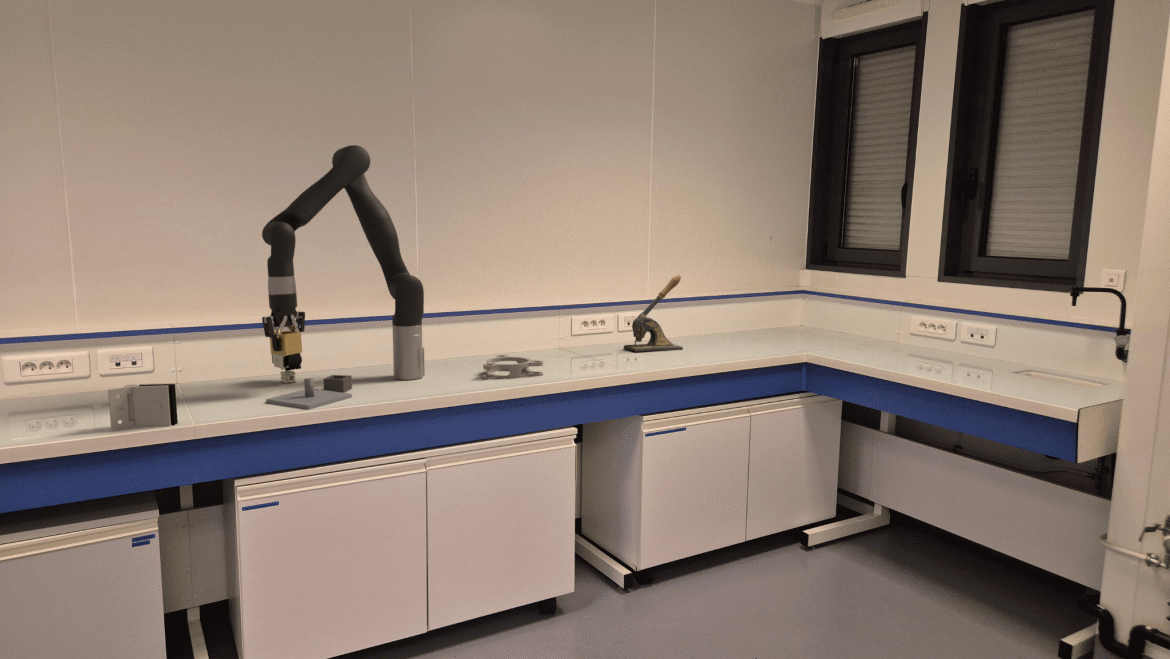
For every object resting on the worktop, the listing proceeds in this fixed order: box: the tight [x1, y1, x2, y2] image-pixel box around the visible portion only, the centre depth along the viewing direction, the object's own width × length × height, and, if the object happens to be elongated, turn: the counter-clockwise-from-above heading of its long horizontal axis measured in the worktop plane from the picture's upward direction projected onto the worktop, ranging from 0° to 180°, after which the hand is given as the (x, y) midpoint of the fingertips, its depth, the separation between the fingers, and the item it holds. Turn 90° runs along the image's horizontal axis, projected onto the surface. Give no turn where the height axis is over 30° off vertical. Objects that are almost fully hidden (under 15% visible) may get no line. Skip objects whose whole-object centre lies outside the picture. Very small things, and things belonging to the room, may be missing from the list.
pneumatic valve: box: [271, 352, 303, 384], centre depth 234 cm, size 6×12×12 cm, turn 45°
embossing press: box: [622, 274, 684, 353], centre depth 302 cm, size 11×24×30 cm, turn 113°
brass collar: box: [269, 330, 303, 356], centre depth 219 cm, size 6×6×6 cm
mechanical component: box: [482, 354, 544, 380], centre depth 253 cm, size 20×19×5 cm
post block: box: [265, 377, 353, 410], centre depth 211 cm, size 16×16×6 cm
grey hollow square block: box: [323, 374, 353, 393], centre depth 224 cm, size 6×6×4 cm
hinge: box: [107, 382, 179, 432], centre depth 183 cm, size 14×5×10 cm, turn 113°
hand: (286, 349), depth 219 cm, fingers closed on brass collar, 6 cm apart
